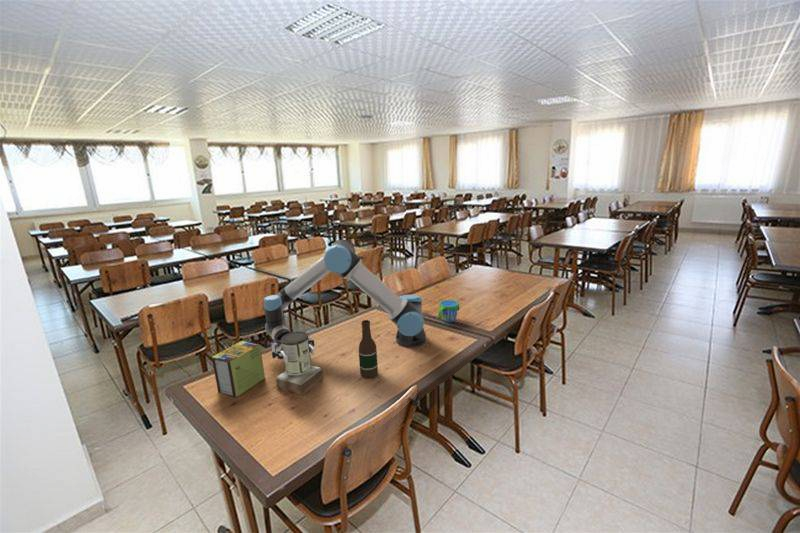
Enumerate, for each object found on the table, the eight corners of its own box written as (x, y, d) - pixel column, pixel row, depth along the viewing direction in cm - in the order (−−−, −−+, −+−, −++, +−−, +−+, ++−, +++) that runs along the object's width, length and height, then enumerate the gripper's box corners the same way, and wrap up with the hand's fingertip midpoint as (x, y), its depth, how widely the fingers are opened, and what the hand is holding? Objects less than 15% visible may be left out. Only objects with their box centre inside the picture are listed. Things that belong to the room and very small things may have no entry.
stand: (323, 378, 154) (322, 367, 153) (302, 395, 143) (301, 383, 142) (298, 372, 160) (297, 361, 159) (277, 388, 149) (275, 376, 148)
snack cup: (445, 327, 199) (445, 309, 196) (432, 321, 207) (432, 304, 204) (465, 319, 208) (466, 302, 205) (452, 314, 216) (452, 297, 213)
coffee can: (291, 362, 156) (287, 331, 152) (315, 362, 154) (311, 331, 151) (281, 375, 146) (276, 342, 142) (306, 376, 145) (302, 342, 141)
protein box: (265, 377, 157) (260, 344, 153) (236, 397, 144) (230, 361, 140) (247, 373, 161) (242, 340, 157) (217, 392, 148) (210, 356, 144)
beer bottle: (381, 371, 158) (378, 318, 152) (374, 380, 151) (370, 326, 145) (364, 368, 160) (360, 316, 154) (356, 378, 153) (352, 324, 147)
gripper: (308, 337, 170) (328, 355, 152) (257, 352, 157) (272, 374, 140) (306, 322, 168) (326, 338, 150) (254, 335, 156) (269, 356, 138)
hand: (300, 356), depth 145 cm, fingers closed on coffee can, 10 cm apart
